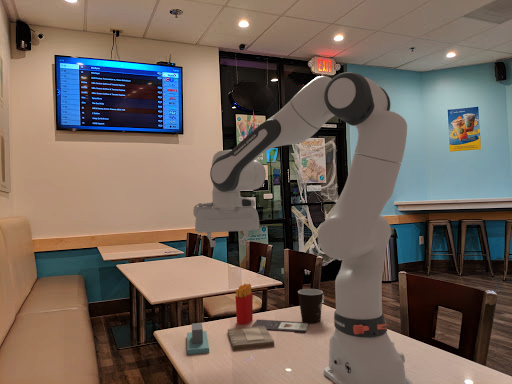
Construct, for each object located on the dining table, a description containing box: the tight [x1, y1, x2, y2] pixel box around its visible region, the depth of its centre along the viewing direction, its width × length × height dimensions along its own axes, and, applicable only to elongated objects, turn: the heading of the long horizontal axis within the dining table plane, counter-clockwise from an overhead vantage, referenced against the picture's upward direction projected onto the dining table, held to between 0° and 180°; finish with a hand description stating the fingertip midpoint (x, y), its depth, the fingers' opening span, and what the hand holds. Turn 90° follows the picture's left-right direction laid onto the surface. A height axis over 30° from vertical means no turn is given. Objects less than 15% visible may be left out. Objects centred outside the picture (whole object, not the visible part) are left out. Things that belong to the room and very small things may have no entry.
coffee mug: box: [297, 288, 324, 325], centre depth 134 cm, size 12×9×10 cm
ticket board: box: [227, 326, 275, 351], centre depth 116 cm, size 14×12×2 cm
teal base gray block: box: [186, 322, 210, 355], centre depth 113 cm, size 14×6×5 cm, turn 11°
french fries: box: [234, 283, 254, 326], centre depth 133 cm, size 9×4×13 cm, turn 156°
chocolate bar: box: [251, 319, 309, 334], centre depth 127 cm, size 9×1×18 cm
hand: (228, 245), depth 120 cm, fingers open, 8 cm apart
